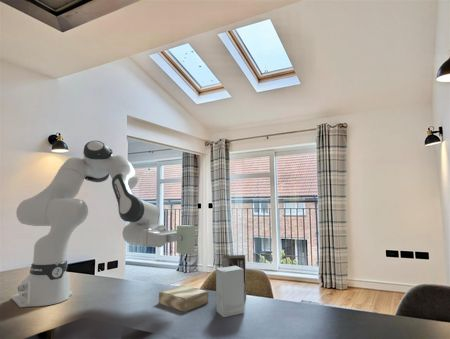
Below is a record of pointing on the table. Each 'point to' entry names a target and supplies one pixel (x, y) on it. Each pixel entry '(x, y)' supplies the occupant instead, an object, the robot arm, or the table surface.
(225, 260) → the coffee box
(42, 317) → the table surface
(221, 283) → the skincare box
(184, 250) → the sage block
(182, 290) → the oak box
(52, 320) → the table surface
